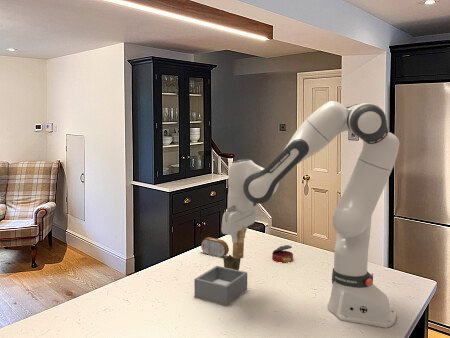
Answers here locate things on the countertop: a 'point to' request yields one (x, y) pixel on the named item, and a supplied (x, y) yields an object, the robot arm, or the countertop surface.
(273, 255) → the canned food
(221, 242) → the tin
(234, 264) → the ornate bronze lampshade
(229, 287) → the socket box
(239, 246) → the oak peg
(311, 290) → the countertop surface
